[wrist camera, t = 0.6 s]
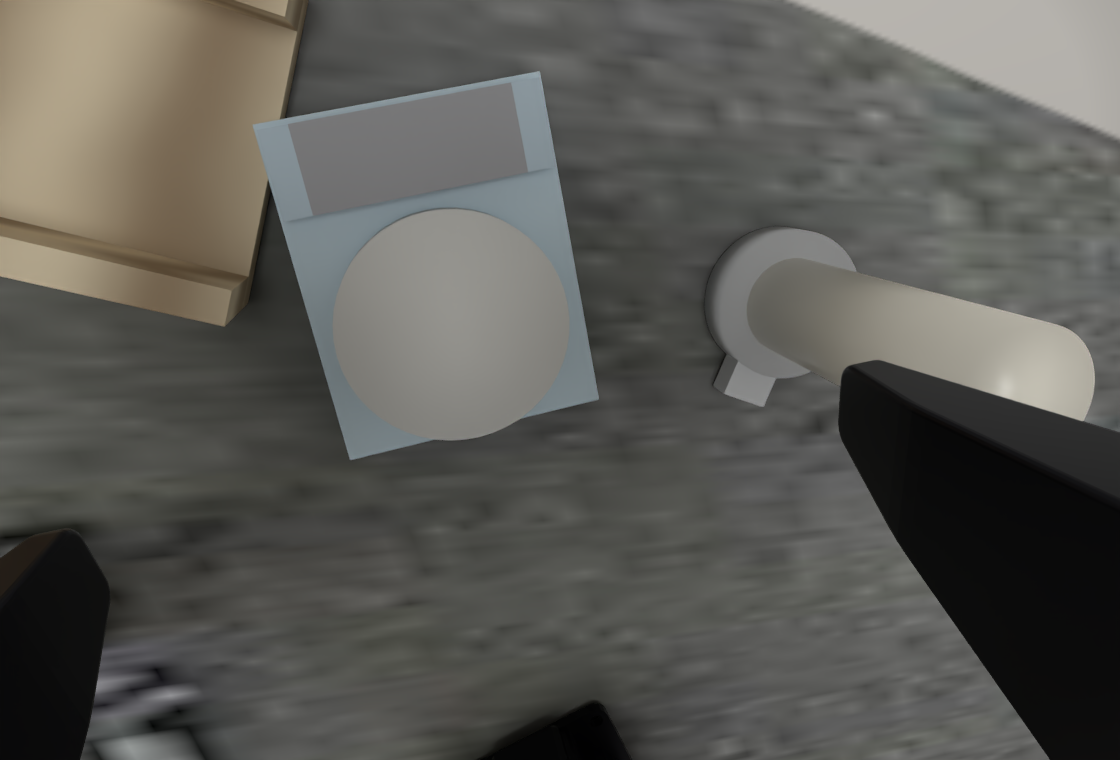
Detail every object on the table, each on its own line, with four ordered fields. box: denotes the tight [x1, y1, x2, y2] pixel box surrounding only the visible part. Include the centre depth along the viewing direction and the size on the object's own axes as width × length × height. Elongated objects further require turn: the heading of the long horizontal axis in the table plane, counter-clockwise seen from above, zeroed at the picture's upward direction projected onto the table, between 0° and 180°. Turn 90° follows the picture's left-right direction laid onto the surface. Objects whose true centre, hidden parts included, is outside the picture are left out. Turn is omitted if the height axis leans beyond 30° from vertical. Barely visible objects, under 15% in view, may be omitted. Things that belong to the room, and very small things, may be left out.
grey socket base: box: [253, 71, 599, 460], centre depth 24 cm, size 10×8×3 cm
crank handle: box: [704, 226, 1095, 421], centre depth 22 cm, size 6×5×12 cm
